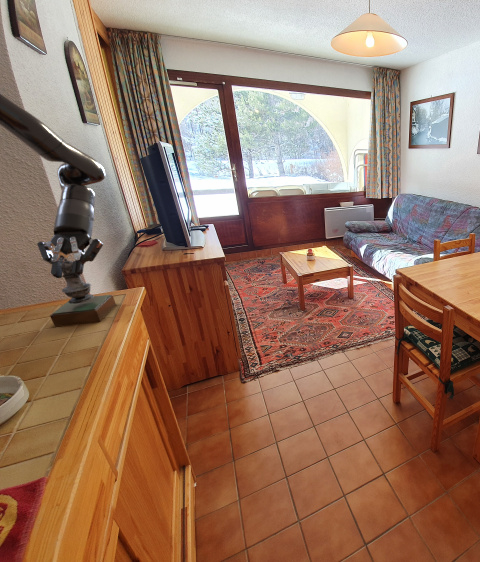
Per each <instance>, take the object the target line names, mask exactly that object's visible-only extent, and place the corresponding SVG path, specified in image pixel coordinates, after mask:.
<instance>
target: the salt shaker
mask: <svg viewBox="0 0 480 562" xmlns="http://www.w3.org/2000/svg"><path fill="white" fill-rule="evenodd" d="M64 260H65V261H64V262H62V263H61V264H60V267H61V270H62V272H63V273H62V278H64V280H65V282H66V287H64V288H62V289H61V292H62V293H64V294H65V295H66V297H67V298H68V297H69V298H70V299H68V301H69V303H71V304H76V303H82V302H86V301H89V300H91V299H93V298H94V296H95V295H94V294H90V292H91V289H92V288H91V286H92V284H91V283H89V282H84V281H83V279H82V277H81V275H80V276H78V277H76V276H74V275H72V267H73V261H72V260H68V258H66V259H65V258H64Z"/></svg>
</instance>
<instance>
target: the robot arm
mask: <svg viewBox="0 0 480 562" xmlns="http://www.w3.org/2000/svg"><path fill="white" fill-rule="evenodd" d="M0 126H1V127H2V128H3V129H5V130H6V131H7V132H9V134H11V135H12V136H14V137H15V138H16V139H18V140H19V141H20V142H21V143H23V144H24V145H25V146H27V147H28V148H29V149H30V150H32V151H33V152H34V153H35V154H37V155H38V156H39V157H41V158H42V159H44V160H45V161H48V162H50V163H51V162H52V163H54V162H55V163H61V164H60V165H59V166H58V168H57V170H56V175H57V179H58V182H59V187H60V190H61V193H60V198H59V203H58V205H57V208H56V213H55V219H54V224H53V236H52V237H51V239H50V240H49V241H46V242H43V241H38V242H37V247H38V250H39V252H40V255H41V258H42V260H43V261H44V262H46V263H48V264H49V265H51V269H50V274H51V275H52V276H53V277H54V278H56V279H62V278H63V277H62V276H63V272H62V270H61V267H60V264H61V263H62V262H64V261H65V260H64V258H65V259H68V258H69V256H70V254H73V258H74V260H73V261H72V262H73V267H72V275H74V276H76V277H78V276H80V277H81V275H83V273H84V267H85V264H86V263H88V262H90V263H91V262H94V260H95V259H96V258H97V256H98V254H99V252H100V251H101V249H102V248H103V246H104V243H103V242H102V241H100V240H99V239H98V238H94V239H93V238H92V236H93V228H94V221H95V211H94V210H95V203H96V193H95V192H94V191H93V189H91V188H90V187H89V185H92V184H98V183H100V182H103V181H104V180H105V178H106V171H105V169H104V167H103V166H102V165H101V163H99V161H97V160H96V159H95V158H94V157H92V156H91V155H89V154H87V153H86V152H84V151H81V150H80V149H79V148H77V147H76V146H73V145H72V144H69V143H68V142H66V141H65V140H64V139H63V138H62V137H60V136H59V134H57V133H56V132H55V131H54V130H52V129H51V128H50V127H49V126H48V125H46V123H44V122H43V121H41V120H40V119H39V118H37V117H36V116H35V115H34V114H32V113H30V112H29V111H27V110H26V109H24V108H23V107H21V106H20V105H18V104H17V103H15V102H14V101H12V100H11V99H9V98H8V97H6V96H5V95H4V94H2V93H1V92H0ZM53 247H54V249H53Z"/></svg>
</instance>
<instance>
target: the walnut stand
mask: <svg viewBox="0 0 480 562" xmlns="http://www.w3.org/2000/svg"><path fill="white" fill-rule="evenodd" d="M93 296H94V298H93V299H91V300H89V301H86V302H82V303H76V304H71V303H69V300H68V301H67V302H66V303H64V304H63V305H61V306H60V307H59V308H57V309H56V310H55V311H53V312H52V313H51V314H50V315H49V317H50V319H51V321H52V323H53V326H54V327H65V326H72V325H79V324H90V323H99V322H101V321H102V320H103V319H104V318H105V317H107V315H108V314H109V313H110V312H111V311H112V310H113V309H114V308H115V307H116V306H117V303H116V300H115V297H114V295H113V294H104V295H103V294H101V295H93Z"/></svg>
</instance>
